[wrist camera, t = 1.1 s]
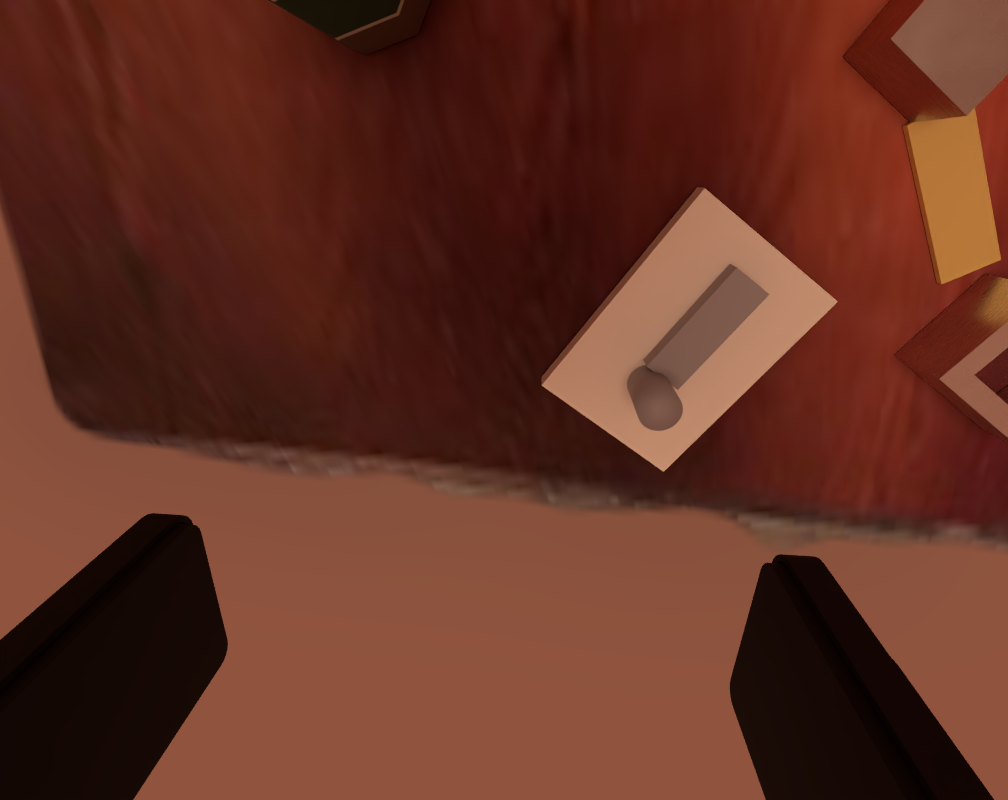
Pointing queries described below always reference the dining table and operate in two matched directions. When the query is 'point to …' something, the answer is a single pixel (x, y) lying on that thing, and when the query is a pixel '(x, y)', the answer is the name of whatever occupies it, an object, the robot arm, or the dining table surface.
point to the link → (966, 353)
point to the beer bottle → (361, 20)
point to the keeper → (686, 331)
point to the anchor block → (934, 55)
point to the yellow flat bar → (953, 194)
